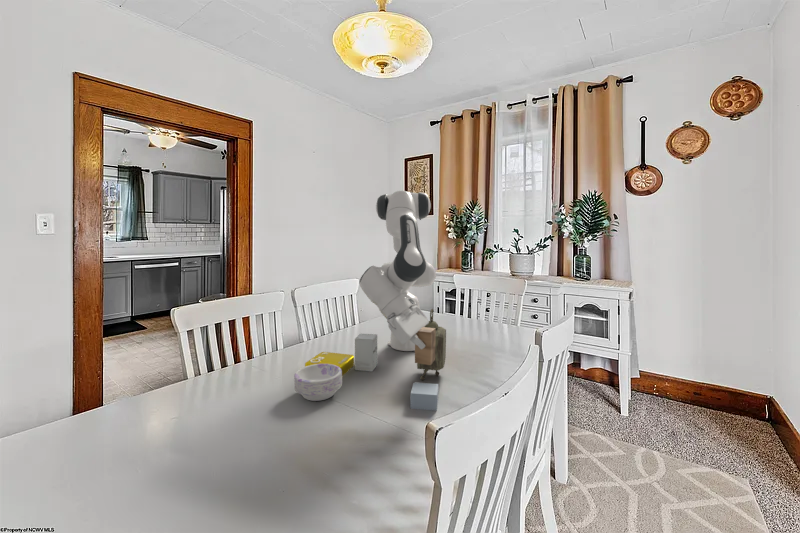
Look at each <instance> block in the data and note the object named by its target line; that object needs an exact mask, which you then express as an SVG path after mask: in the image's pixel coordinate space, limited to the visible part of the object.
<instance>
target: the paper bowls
mask: <svg viewBox="0 0 800 533" xmlns="http://www.w3.org/2000/svg"><path fill="white" fill-rule="evenodd" d="M293 375H294V376H293V377H294V379H293V381H294V390H295V392H296V393H297V394H299V395H301V396H302V397H303V398H304V399H306V400H308V401H313V402H316V401H317V402H319V401H324V400H328V399H330V398H331V397H333V396H334V395H335V393H336V392H337V391H338V390H339V389H341V387H342V385H343V376H342V370H341V368H340V367H338V366H336V365H333V364H314V365H309V366H306V367H305V366H303V367H301V368H299V369H298V370H296V371H295V373H294V374H293Z"/></svg>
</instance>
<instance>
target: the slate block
mask: <svg viewBox="0 0 800 533" xmlns="http://www.w3.org/2000/svg"><path fill="white" fill-rule="evenodd" d="M412 383H413V384H412V388H411V391H410V399H409V400H410V405H409V406H410V409H412V410H413V409H415V410H424V411H425V410H427V411H438V404H439V383H429V382H428V383H426V382H417V381H416V382H412Z"/></svg>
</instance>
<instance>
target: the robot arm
mask: <svg viewBox="0 0 800 533" xmlns="http://www.w3.org/2000/svg"><path fill="white" fill-rule="evenodd" d="M431 205H432V203H431V200H430V198H429V195H428V194H427V193H426V192H420V191H419V192H410V191H409V192H408V191H406V190H397V191H395V192H393V193H391V194H387V193H385V194H382V195H380V196H379V197H378V198H377V200H376V204H375V210H376V214H377V216H378V218H379V219H380V220H383V221H385V224H386V225H385V226H386V230H387V232H388V234H389V235H390V236H392V239H393V243H392V244H393V250H394V251H395V253H396V255H395V256H394V259H393V261H391V262H385V263H383V264H382V265H381V266H376V265H371V266H369V267H368V268H367V269H366V270H365V271H364V273H363V274H362V275H361V276H360V278H359V283H358V284H359V286H360V288H361V290H362V291H363V293H364V295H366V297H367V298H368V299H369V301H370V302H372V304H374V305H375V306H376V307H377V308H378V310H379V312H380V313H381V315H382V316H384V318H385V319H386V322H387V324H388V328H389V330H390V341H388V342H387V345H388V346H390V347H391V348H392V349H394V350H396V351H404V352H412V351H414V352H415V344H416V345H418V347H419V348H420V349H423V348H424V347H425V346H426V343H425V342H424V341H421V340H420V339H419V338H418V336H417V335H416V333H417V332H418V331H419V330H420V329H421V328H422V327H425V326H426V325H427V324H428V323H429V321H430V320H429V318H428V317H427V316H426V315H425V313H424V312H423V311H422V309H421V308H420V301H419V298H418V297H417V296H416V295H414V294H413V293H411V292H410V291H409V290H410V289H411V288H412V287H414V288H416V287H417V288H422V287H430V286H432V285H433V284H434V282H435V280H436V277H437V272H436V269H435V267H434V266H433V264H431V263H430V262H429V261H428V260H426V259H425V256H424V254H423V252H422V249H421V243H420V232H419V226H418V224H419V223H418V220H419V221H422V220H423V219H425V218H427V217H428V216H429V213H430V211H431V208H432V206H431Z"/></svg>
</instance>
